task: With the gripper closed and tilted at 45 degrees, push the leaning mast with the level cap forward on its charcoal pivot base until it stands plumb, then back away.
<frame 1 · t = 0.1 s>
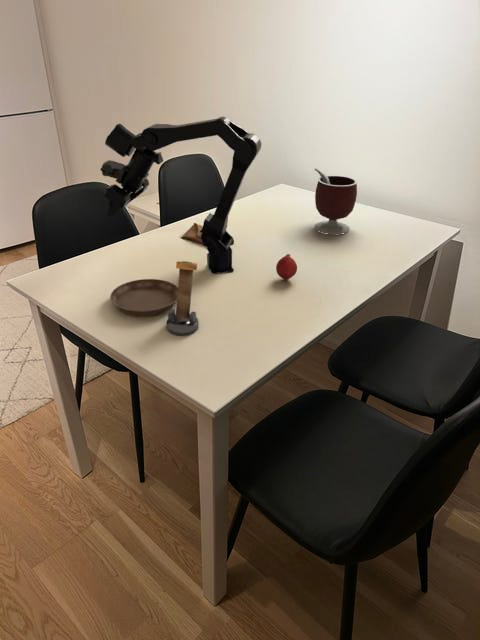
hand: (115, 211, 144), 15 cm above the table, tool tilted 35°, fingers open, 9 cm apart
mate gourd: (329, 228, 176), on the table
tribrach base: (182, 327, 118), on the table
sunglasses case: (206, 242, 165), on the table
level mast: (184, 289, 116), point 9 cm above the table, hinge at -22.0°
plant saucer: (146, 304, 128), on the table
onion: (285, 280, 141), on the table
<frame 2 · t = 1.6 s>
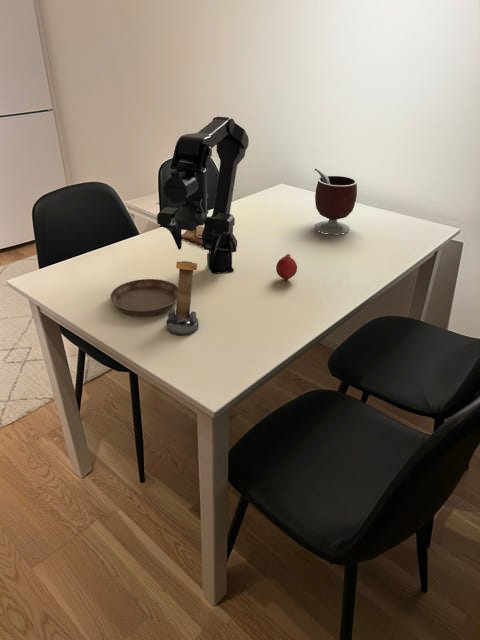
hand: (196, 251, 127), 12 cm above the table, tool pointing down, fingers open, 9 cm apart
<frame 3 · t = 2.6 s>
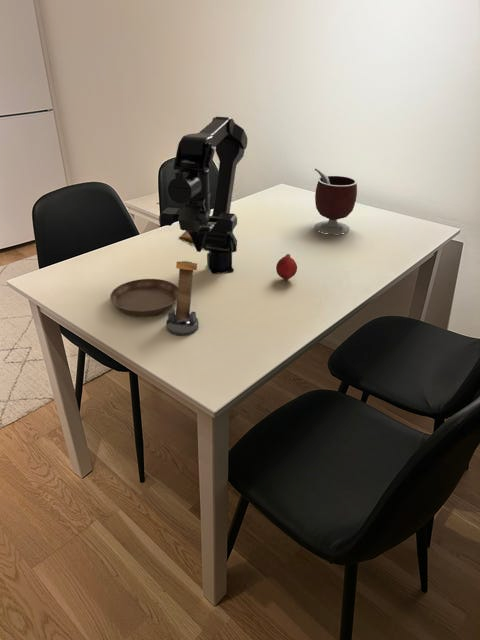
hand: (199, 251, 127), 12 cm above the table, tool pointing down, fingers closed
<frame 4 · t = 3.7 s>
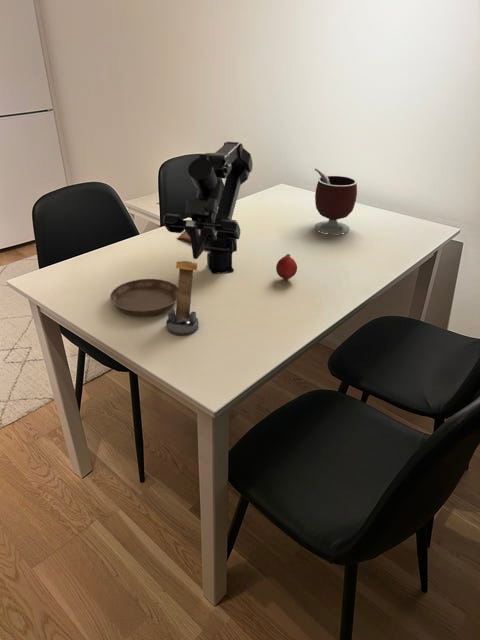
hand: (195, 258, 121), 13 cm above the table, tool tilted 45°, fingers closed
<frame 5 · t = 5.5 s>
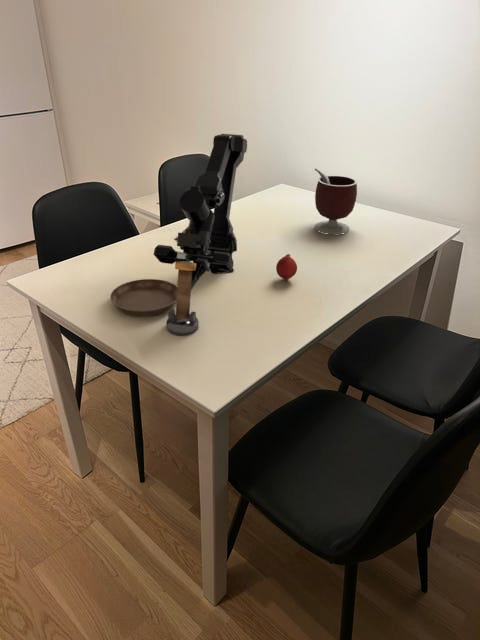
hand: (186, 291, 118), 8 cm above the table, tool tilted 45°, fingers closed, pressing on level mast
level mast: (184, 289, 115), point 9 cm above the table, hinge at -18.6°, touching gripper
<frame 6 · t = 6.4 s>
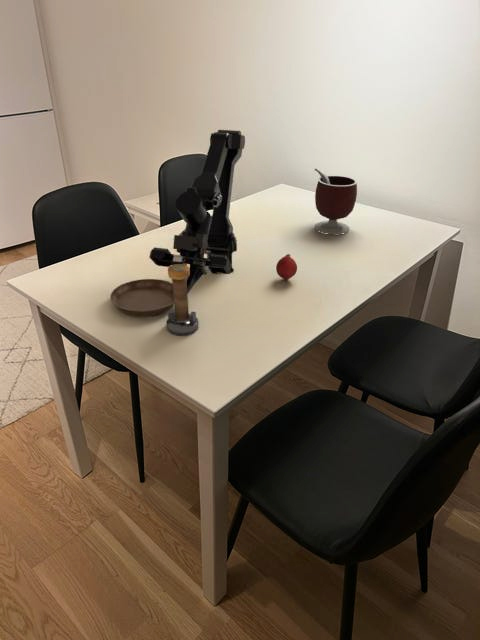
hand: (183, 294, 115), 8 cm above the table, tool tilted 45°, fingers closed, pressing on level mast
level mast: (180, 293, 113), point 9 cm above the table, hinge at 2.4°, touching gripper
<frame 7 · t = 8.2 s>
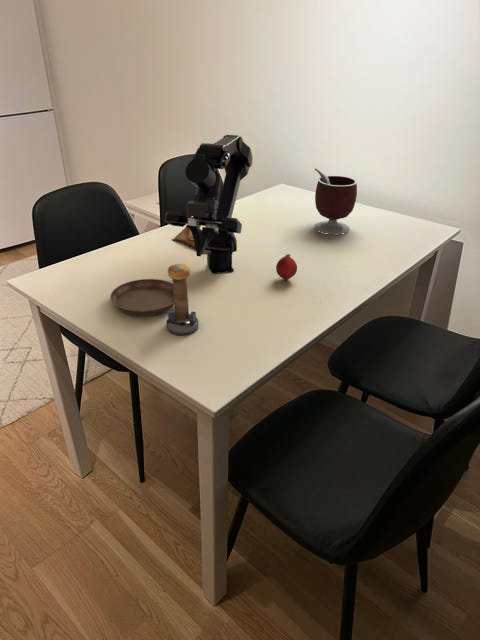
hand: (198, 256, 124), 12 cm above the table, tool tilted 30°, fingers closed
level mast: (180, 293, 113), point 9 cm above the table, hinge at 2.1°
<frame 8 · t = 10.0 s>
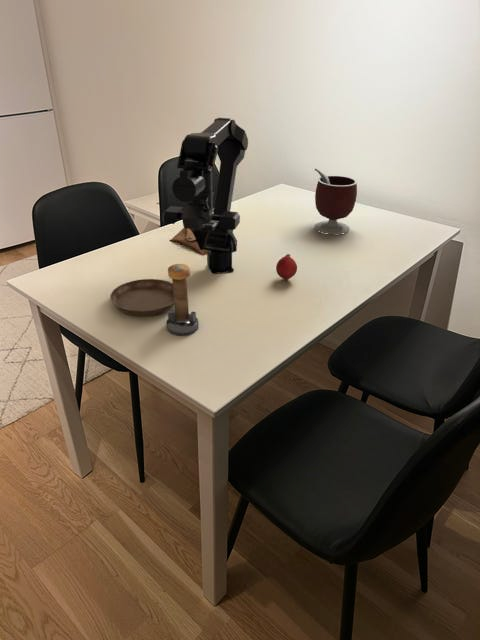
hand: (202, 249, 128), 12 cm above the table, tool pointing down, fingers closed
at the end: level mast at +2° (first picture: -22°); level mast tilted 2° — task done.
